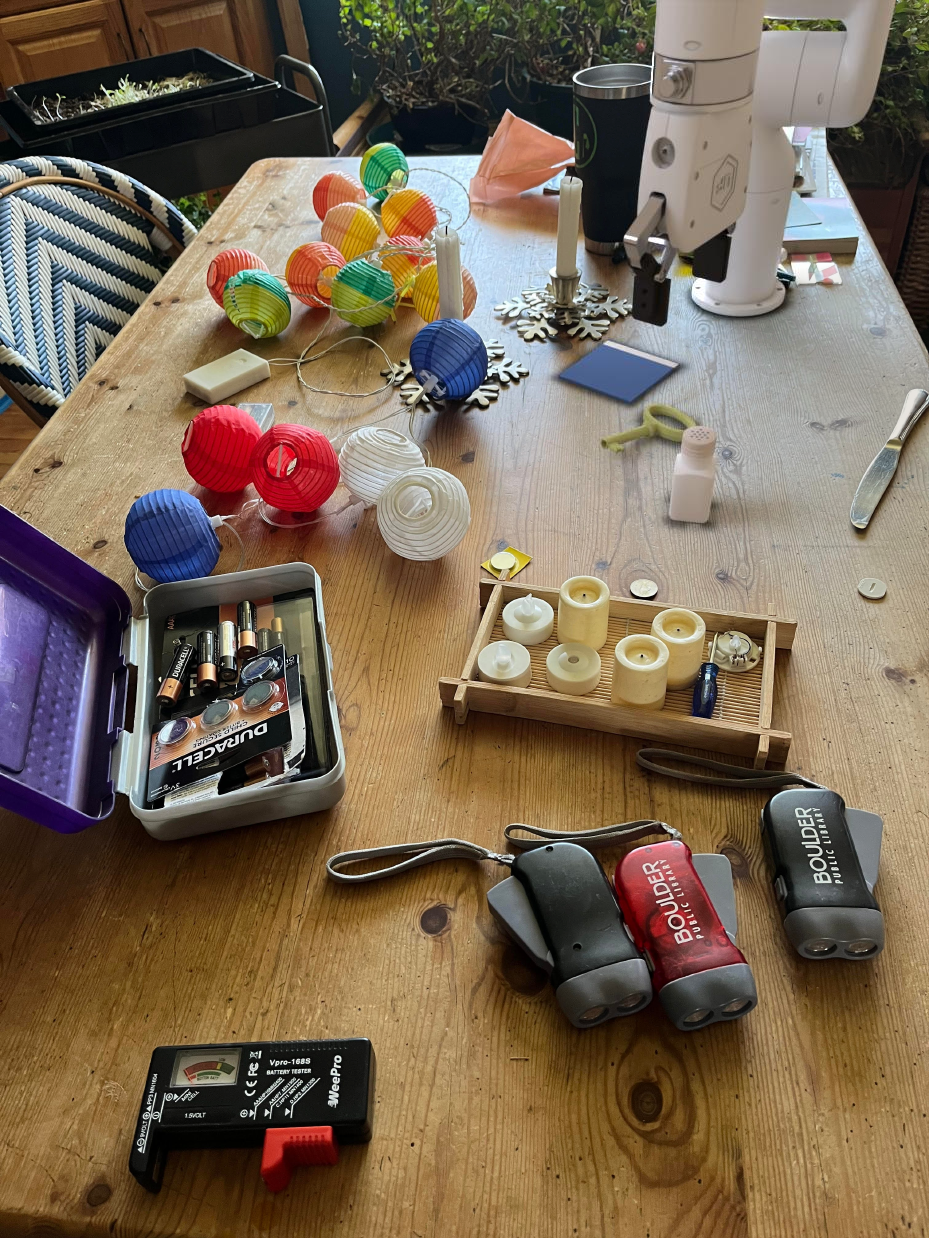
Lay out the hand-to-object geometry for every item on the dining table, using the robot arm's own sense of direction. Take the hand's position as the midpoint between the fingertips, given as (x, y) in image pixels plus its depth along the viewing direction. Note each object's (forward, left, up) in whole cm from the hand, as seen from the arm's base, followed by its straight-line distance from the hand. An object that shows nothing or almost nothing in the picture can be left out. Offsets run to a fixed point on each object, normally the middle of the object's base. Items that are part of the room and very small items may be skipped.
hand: (679, 299), depth 76 cm
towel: (-19, -18, -22) cm, 35 cm away
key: (-9, -7, -22) cm, 25 cm away
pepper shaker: (0, +4, -22) cm, 23 cm away
